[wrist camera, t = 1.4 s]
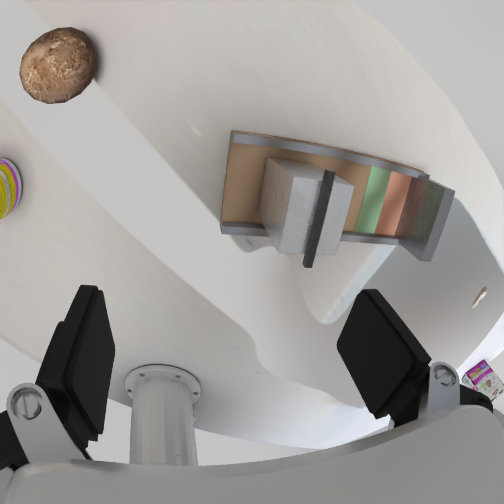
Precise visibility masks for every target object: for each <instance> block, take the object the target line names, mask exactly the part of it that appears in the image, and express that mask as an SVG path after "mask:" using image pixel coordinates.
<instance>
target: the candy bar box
mask: <svg viewBox="0 0 504 504" xmlns="http://www.w3.org/2000/svg"><path fill="white" fill-rule="evenodd" d="M462 381H463V383H464V384H465V385H466V387H468V388H471V389H473V390H476V391H478V392H480V393H483V394H484V395H486V396H488V397H489V398H490V400H491V403H492V402H493V401H495V400H496V399H497V398H498V397H499V396H500V395H501V394H502V393H503V392H504V384H503V383H502V382H501V380H500V379H499V378H498V377H497V375H496V374H495V373H494V372H493V370H492V369H491V368H490V367H489V365H488V364H487V363H486V361H485V360H482V361H481V362H480V363H478V364H477V365H476V366H474V367H473V368H472V369H470V370H469V371H468V372H466V373H465V375H464V376H463V378H462Z"/></svg>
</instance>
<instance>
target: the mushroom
mask: <svg viewBox="0 0 504 504" xmlns="http://www.w3.org/2000/svg"><path fill="white" fill-rule="evenodd" d="M96 69H97V60H96V52H95V49H94V47H93V45H92V43H91V41H90V40H89V38H88V37H87V36H86V34H85V33H84V32H82V31H80V30H77V29H75V28H72V27H68V28H57V29H54V30H52V31H49V32H47V33H45V34H43V35H42V36H40V37H39V38H38V39H36V40H35V41H34V42H33V43H31V45H30V46H29V48H28V49H27V51H26V52H25V54H24V55H23V57H22V61H21V67H20V73H19V75H20V78H21V82H22V85H23V88H24V90H25V91H26V92H27V93H28V94H29V95H30V96H31V97H32V98H33V99H36V100H39V101H41V102H44V103H47V104H53V103H65V102H66V101H68V100H70V99H72V98H74V97H75V96H77V95H79V94H81V93H82V92H83V90H84V89H85V88H86V87H87V86H88V85H89V84H90V83H91V81H92V79H93V76H94V74H95V71H96Z"/></svg>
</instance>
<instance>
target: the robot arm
mask: <svg viewBox="0 0 504 504" xmlns="http://www.w3.org/2000/svg"><path fill="white" fill-rule="evenodd" d="M337 349H338V352H339V354H340V355H341V357H342V359H343V361H344V363H345V365H346V367H347V369H348V371H349V372H350V375H351V377H352V379H353V380H354V382H355V384H356V386H357V388H358V390H359V392H360V394H361V396H362V398H363V400H364V402H365V404H366V406H367V408H368V410H369V412H370V413H372V414H373V415H374V417H375V419H379V418H382V417H385V416H387V415H388V414H389V415H390V416H391V418H390V422H389V426H388V430H387V431H385V432H382V433H380V434H376V435H373V436H370V437H367V438H364V439H361V440H357V441H354V442H351V443H347V444H344V445H340V446H336V447H332V448H328V449H324V450H320V451H316V452H311V453H306V454H301V455H296V456H291V457H285V458H279V459H273V460H266V461H258V462H249V463H241V464H228V465H212V466H198V461H197V452H196V443H195V433H194V423H195V422H197V420H198V418H197V417H196V416H195V415H194V414H193V407H192V405H193V404H195V403H196V402H197V401H198V399H199V398H200V395H201V388H200V384H199V382H198V381H197V379H196V378H195V377H194V376H192V375H191V374H189V373H188V372H185V371H183V370H181V369H178V368H175V367H170V366H164V365H149V366H143V367H140V368H137V369H135V370H133V371H132V372H130V373H129V374H128V375H127V377H126V380H125V391H126V393H127V395H128V396H129V397H130V398H131V399H132V400H133V402H132V416H131V434H130V464H124V463H116V462H104V461H94V460H93V459H92V457H91V456H90V455H89V453H88V452H87V450H86V448H87V447H88V440H90V441H98V434H102V433H103V430H104V421H105V413H106V405H107V398H108V391H109V385H110V379H111V373H112V368H113V362H114V357H115V344H114V340H113V336H112V332H111V328H110V323H109V319H108V314H107V309H106V305H105V299H104V294H103V291H102V290H98V287H97V286H93V285H81V286H80V287H79V289H78V291H77V293H76V296H75V298H74V300H73V302H72V304H71V306H70V309H69V311H68V313H67V316H66V318H65V320H64V321H61V322H59V323H58V325H57V327H56V329H55V332H54V334H53V336H52V339H51V341H50V344H49V346H48V349H47V351H46V354H45V357H44V359H43V362H42V365H41V368H40V371H39V374H38V376H37V379H36V382H35V384H32V383H24V384H20V385H18V386H17V387H15V388H14V389H13V390H12V391H11V392H10V394H9V396H8V398H7V404H6V406H7V410H6V411H4V412H2V413H0V504H504V415H503V414H502V413H501V412H499V411H498V410H496V409H494V410H493V405H492V403H491V400H490V398H489V397H488V396H486V395H484V394H483V393H480V392H478V391H476V390H473V389H471V388H468V387H466V386H464V385H461V384H459V376H458V374H457V372H456V371H455V370H454V369H453V368H452V367H451V366H450V365H448V364H446V363H444V362H436V363H433V364H432V366H431V367H429V366H428V364H429V362H430V361H431V358H430V356H429V355H428V353H427V352H426V351H425V350H424V348H423V347H422V346H421V344H420V343H419V341H418V340H417V339H416V337H415V336H414V335H413V334H412V332H411V331H410V330H409V328H408V327H407V326H406V324H405V323H404V322H403V321H402V319H401V318H400V317H399V316H398V315H397V313H396V312H395V311H394V309H393V308H392V307H391V306H390V304H389V303H388V302H387V301H386V300H385V298H384V297H383V296H382V295H381V293H380V292H379V291H378V290H377V289H364V290H362V291H361V292H360V293H359V294H358V295H357V297H356V299H355V302H354V304H353V307H352V309H351V311H350V314H349V316H348V319H347V321H346V323H345V325H344V328H343V330H342V332H341V334H340V337H339V339H338V341H337Z"/></svg>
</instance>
